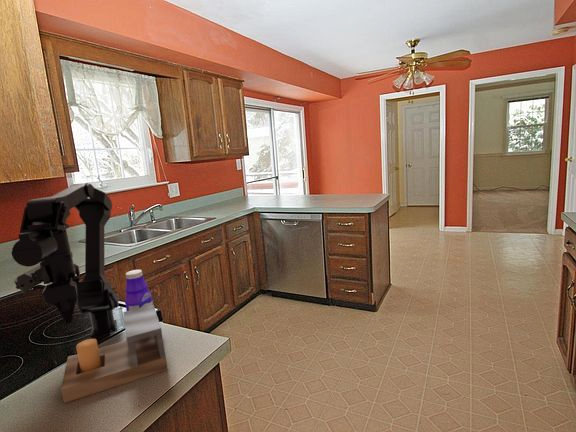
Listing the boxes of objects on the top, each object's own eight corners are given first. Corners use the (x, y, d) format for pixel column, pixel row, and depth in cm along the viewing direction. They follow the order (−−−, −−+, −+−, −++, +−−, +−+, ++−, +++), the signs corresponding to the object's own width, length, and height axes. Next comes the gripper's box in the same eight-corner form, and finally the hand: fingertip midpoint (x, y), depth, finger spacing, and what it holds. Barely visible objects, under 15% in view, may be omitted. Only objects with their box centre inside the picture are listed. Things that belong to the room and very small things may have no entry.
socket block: (70, 367, 84) (62, 327, 83) (159, 341, 93) (153, 304, 91) (63, 404, 71) (53, 357, 69) (167, 370, 80) (161, 328, 78)
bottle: (145, 338, 95) (135, 276, 92) (126, 338, 96) (115, 276, 93) (160, 325, 102) (151, 267, 99) (142, 325, 103) (133, 267, 100)
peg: (83, 374, 81) (76, 342, 80) (103, 368, 83) (97, 337, 81) (82, 384, 77) (75, 350, 76) (103, 378, 79) (96, 344, 78)
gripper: (20, 250, 87) (35, 310, 90) (3, 271, 71) (21, 343, 74) (73, 241, 92) (85, 298, 95) (69, 259, 76) (83, 327, 79)
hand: (69, 315), depth 85 cm, fingers open, 9 cm apart
